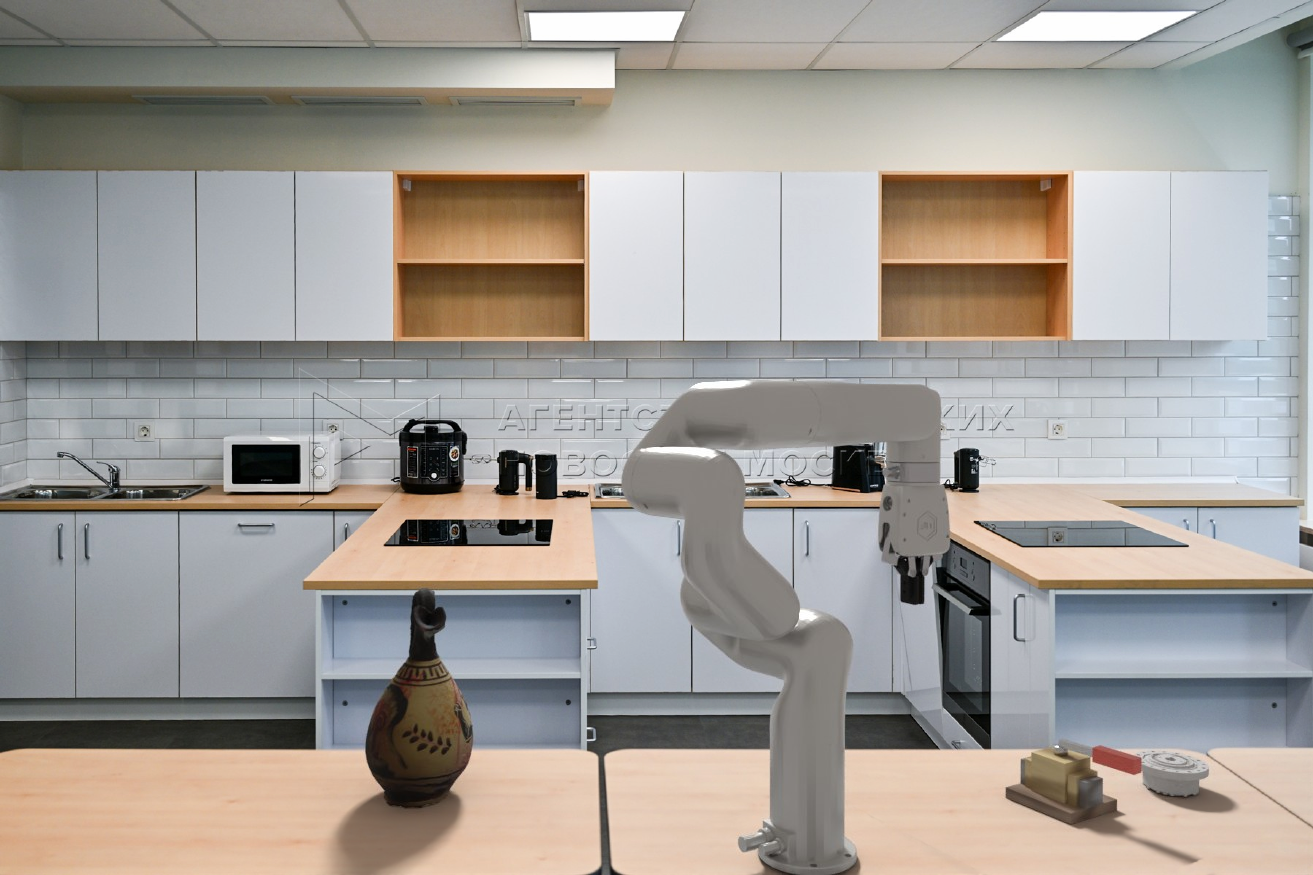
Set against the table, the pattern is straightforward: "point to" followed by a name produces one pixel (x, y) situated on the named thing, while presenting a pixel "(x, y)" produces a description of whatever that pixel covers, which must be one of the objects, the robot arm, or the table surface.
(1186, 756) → the mechanical component
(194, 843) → the table surface
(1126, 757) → the valve lever
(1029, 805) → the valve block
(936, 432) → the robot arm
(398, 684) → the ceramic jug
